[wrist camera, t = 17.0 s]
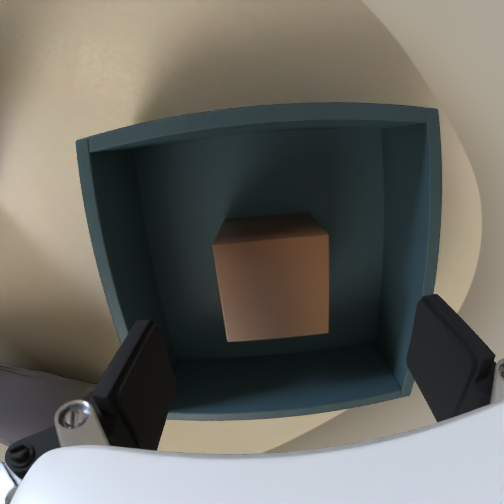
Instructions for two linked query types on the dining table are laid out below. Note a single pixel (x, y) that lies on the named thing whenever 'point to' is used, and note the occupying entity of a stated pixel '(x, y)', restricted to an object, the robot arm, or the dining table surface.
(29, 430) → the bluetooth speaker
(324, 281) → the walnut block
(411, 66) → the dining table surface
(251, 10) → the dining table surface
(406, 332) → the square open bin
